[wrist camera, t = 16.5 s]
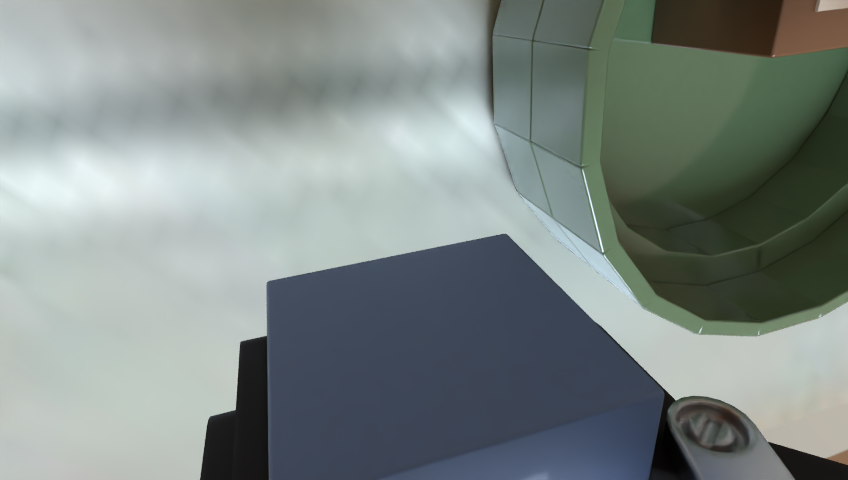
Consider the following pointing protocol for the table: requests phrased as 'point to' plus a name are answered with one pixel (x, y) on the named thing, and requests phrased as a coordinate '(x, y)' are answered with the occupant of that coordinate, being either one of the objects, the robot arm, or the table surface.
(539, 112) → the faceted green bowl
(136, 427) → the table surface
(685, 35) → the walnut block
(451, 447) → the periwinkle blue block
